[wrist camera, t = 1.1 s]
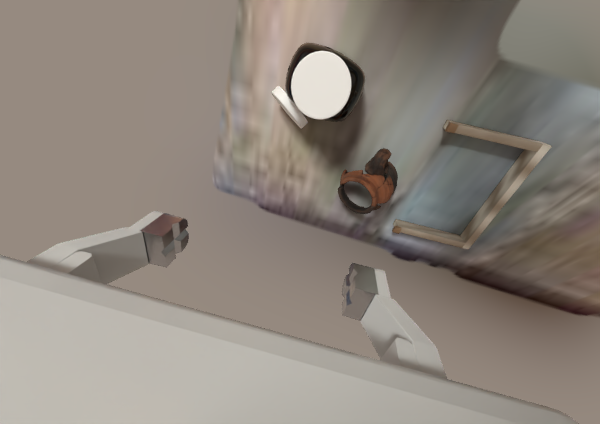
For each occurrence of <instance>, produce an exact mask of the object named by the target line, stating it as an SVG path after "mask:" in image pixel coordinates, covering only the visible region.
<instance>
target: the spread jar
mask: <svg viewBox="0 0 600 424" xmlns="http://www.w3.org/2000/svg"><path fill="white" fill-rule="evenodd" d="M364 84H365V74H364V72H363V70H362V69H361V68H360V67H359V66H358V65H357V64H356V63H354V62H353V61H352V60H350V59H349V58H347V57H346V56H344V55H343V54H342V53H340V52H338V51H335V50H333V49H331V48H329V47H326V46H322V45H319V44H314V43H305V44H303V45H301V46H300V47H299V48H298V50H297V51H296V53H295V54H294V56H293V58H292V61H291V63H290V66H289V68H288V72H287V77H286V84H285V90H286V92H285V91H284V90H283V89H282V88H281V87H279V86H277V87H276V88H275V89H274V90H273V91H272V92H271V93H272V95H273V96H274V98H275V99H276V100H277V102H278V103H279V104H280V105H281V107H282V108H283V109H284V110H285V112H286V113H287V114H288V115H289V116H290V118H291V119H292V120H293V121H294V122H295V123H296V124H297V125H298V126H299V127H300V128H301V129H302V128H303V127H304V126H305V125H306V124H307V123H308V122H307V120H306V118H305V116H304V115H303V114H305V115H306V116H308V117H310V118H313V119H323V120H327V121H333V122H338V121H342V120H344V119H346V118H347V117H348V116H349V115H350V113H351V112H352V111H353V109H354V108H355V106H356V104H357V103H358V101H359V99H360V96H361V94H362V91H363V88H364Z"/></svg>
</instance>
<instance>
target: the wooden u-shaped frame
mask: <svg viewBox="0 0 600 424" xmlns="http://www.w3.org/2000/svg"><path fill="white" fill-rule="evenodd" d="M443 128H444V129H445V131H446V132H450V133H457V134H462V135H466V136H470V137H475V138H479V139H483V140H487V141H492V142H496V143H500V144H505V145H509V146H513V147H517V148H522V149H524V151H523V152H522V153H521V155H520V156H519V157H518V159H517V160H516V161H515V163H514V164H513V165H512V167H511V168H510V169H509V171H508V172H507V173H506V175H505V176H504V177H503V179H502V180H501V181H500V183H499V184H498V185H497V187H496V188H495V189H494V191H493V192H492V193H491V195H490V196H489V197H488V199H487V200H486V201H485V203H484V204H483V205H482V207H481V208H480V210H479V211H478V212H477V214H476V215H475V216H474V218H473V219H472V220H471V222H470V223H469V224H468V226H467V227H466V228H465V230H464V231H463V232H462V234H461V235H457V234H453V233H449V232H445V231H441V230H437V229H433V228H429V227H425V226H421V225H417V224H413V223H409V222H405V221H401V220H397V219H395V221H394V223H393V225H394V228H393V230H392V231H393V232H394V233H398V234H399V233H400V232H401V233H405V234H409V235H413V236H417V237H421V238H425V239H429V240H433V241H437V242H441V243H445V244H449V245H452V246H456V247H460V248H464V249H469V248H470V247H471V246H472V244H473V243H474V242H475V241H476V239H477V238H478V237H479V236H480V234H481V233H482V232H483V231H484V230H485V228H486V227H487V226H488V225H489V223H490V222H491V221H492V220H493V218H494V217H495V216H496V215H497V213H498V212H499V211H500V210H501V209H502V207H503V206H504V205H505V204H506V202H507V201H508V200H509V199H510V197H511V196H512V195H513V194H514V192H515V191H516V190H517V189H518V187H519V186H520V185H521V184H522V183H523V181H524V180H525V179H526V178H527V176H528V175H529V174H530V173H531V171H532V170H533V169H534V168H535V166H536V165H537V164H538V163H539V161H540V160H541V159H542V158H543V157H544V155H545V154H546V153H547V152H548V150H549V149H550V148H551V147H552V146H551V145H548V144H545V143H543V142H540V141H536V140H532V139H527V138H523V137H519V136H514V135H510V134H506V133H501V132H497V131H493V130H488V129H484V128H480V127H475V126H471V125H467V124H462V123H458V122H454V121H449V120H447V121H446V123H445V124H444V126H443Z"/></svg>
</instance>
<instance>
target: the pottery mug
mask: <svg viewBox="0 0 600 424" xmlns="http://www.w3.org/2000/svg"><path fill="white" fill-rule="evenodd" d="M390 156H391V152H390V151H389V150H388V149H385V148H384V149H380V150H379V151H378V152H377V153H376V155H375V156H374V157H373V158H372V159H371V161H369V162H368V163H367V164H366V166H365V171H366V172H367V173H368V174H363V170H358V171H352V172H348V173H347V170H346V169H345V170H344V171H343V174H342V176H341V181H340V187H339V188H338V194H339V197H340V199H341V201H342V202H343V203H344V205H345V206H346V207H348V208H349V209H350V210H352V211H353V212H356V213H360V214H367V213H370V212H371V211H373V210H377V209H379V208H380V207H381V206H378V205H377V204H381V203H386V202H387V201H388V200H389V199H390V197H391V195H392V194H393V193H394V191H395V188H396V186H397V178H398V177H397V171H396V169H395V167H394V166H393V165H392V164H391V163H390V162H388V159H389V158H390ZM384 173H385V174H386V177H384V176H383V175H384ZM349 181H354V182H358V183H361V184H362V185H364V186H365V187H366V188H367V189H368V191H369V192H370V194H371V197H372V204H371V206H370V207H368V208H364V207H360V206H358V205H356V204H354V203H353V202H352V201H350V200H349V198H348V196H347V195H346V193H345V192H344V184H345V183H347V182H349Z"/></svg>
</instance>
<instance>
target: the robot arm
mask: <svg viewBox="0 0 600 424" xmlns="http://www.w3.org/2000/svg"><path fill="white" fill-rule="evenodd" d="M187 226H188V222H187V220H186V219H184V218H181V217H177V216H174V215H170V214H167V213H163V212H159V211H153V212H151V213H150V214H149V215H147V216H145V217H144V218H142V219H141V220H140V221H138V222H137V223H135V224H134V225H132V226H131V227H129V228H121V229H116V230H112V231H108V232H104V233H100V234H96V235H92V236H88V237H83V238H79V239H76V240H71V241H67V242H63V243H59V244H57V245H55V246H53V247H51V248H50V249H48V250H46V251H44V252H43V253H41V254H39V255H38V256H36V257H34V258H33V259H31V260H29V261H27V262H24V261H21V260H17V259H13V258H10V257H6V256H3V255H0V424H579V423H578V422H576V421H575V420H574V419H573V418H572V417H570V416H568V415H567V414H565V413H563V412H561V411H558V410H555V409H552V408H549V407H546V406H543V405H539V404H535V403H532V402H527V401H524V400H521V399H517V398H513V397H510V396H506V395H502V394H499V393H495V392H492V391H488V390H484V389H481V388H477V387H473V386H470V385H466V384H463V383H459V382H455V381H452V380H448V379H447V377H446V374H445V371H444V368H443V365H442V362H441V360H440V357H439V354H438V351H437V348H436V346H435V345H434V344H433V343H432V342H431V341H430V340H429V338H428V337H427V336H426V335H425V334H424V333H423V331H422V330H421V329H420V328H419V327H418V326H417V325H416V324H415V322H414V321H413V320H412V319H411V318H410V317H409V315H408V314H407V313H406V312H405V311H404V310H403V309H402V307H401V306H400V305H399V304H398V303H397V302H396V300H395V299H391V295H390V291H389V286H388V282H387V278H386V273H385V271H384V270H380V269H376V268H371V267H367V266H363V265H359V264H355V263H352V264H351V265H350V268H349V274H348V275H346V277H345V279H344V283H343V289H342V295H343V297H344V300H343V302H342V315H343V316H346V317H350V318H353V319H357V320H360V322H361V324H362V326H363V328H364V329H365V331H366V333H367V335H368V337H369V339H370V340H371V342H372V344H373V346H374V347H375V349H376V351H377V353H378V355H379V357H380V360H377V359H373V358H369V357H366V356H362V355H358V354H355V353H351V352H347V351H344V350H341V349H337V348H333V347H330V346H326V345H323V344H319V343H315V342H312V341H308V340H305V339H301V338H297V337H294V336H290V335H287V334H283V333H280V332H276V331H272V330H269V329H265V328H261V327H258V326H254V325H251V324H247V323H244V322H240V321H236V320H232V319H229V318H225V317H222V316H218V315H215V314H211V313H208V312H204V311H200V310H197V309H193V308H190V307H186V306H183V305H179V304H175V303H172V302H168V301H165V300H161V299H157V298H154V297H150V296H147V295H143V294H139V293H136V292H132V291H129V290H125V289H121V288H118V287H114V286H110V285H107V284H108V283H110V282H112V281H114V280H116V279H118V278H121V277H123V276H125V275H127V274H129V273H131V272H133V271H135V270H137V269H140V268H141V267H144V266H146V265H148V264H149V263H150V264H154V265H158V266H163V267H167V266H168V265H169V264H170V263H171V262H172V261H173V260H174V259H175V258H176V253H179V252H182V251H183V249H184V248H185V247H186V245H187V243H188V239H189V234H188V232H187V231H186V228H187Z"/></svg>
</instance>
